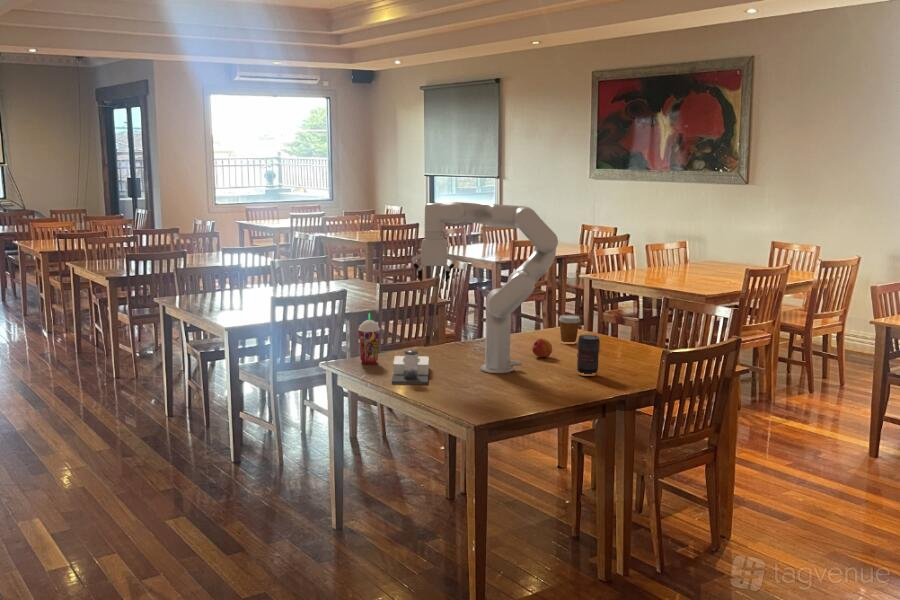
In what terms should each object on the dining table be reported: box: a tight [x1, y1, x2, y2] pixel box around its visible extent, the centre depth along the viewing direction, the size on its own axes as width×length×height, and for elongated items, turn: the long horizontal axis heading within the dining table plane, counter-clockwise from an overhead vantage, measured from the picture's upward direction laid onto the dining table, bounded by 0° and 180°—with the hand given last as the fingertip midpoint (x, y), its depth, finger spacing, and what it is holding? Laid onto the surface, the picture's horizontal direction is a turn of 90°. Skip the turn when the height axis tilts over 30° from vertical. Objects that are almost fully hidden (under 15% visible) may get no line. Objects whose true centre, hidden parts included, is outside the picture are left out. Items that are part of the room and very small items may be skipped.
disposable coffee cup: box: [558, 314, 581, 342], centre depth 387 cm, size 10×10×12 cm
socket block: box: [392, 355, 430, 376], centre depth 333 cm, size 13×13×4 cm
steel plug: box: [403, 349, 419, 380], centre depth 319 cm, size 5×5×10 cm
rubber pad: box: [391, 373, 429, 385], centre depth 320 cm, size 13×10×1 cm
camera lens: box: [576, 334, 601, 374], centre depth 332 cm, size 8×8×15 cm
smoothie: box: [358, 312, 381, 365], centre depth 344 cm, size 8×8×20 cm
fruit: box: [531, 338, 553, 358], centre depth 360 cm, size 8×8×8 cm
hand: (433, 281), depth 333 cm, fingers open, 9 cm apart
